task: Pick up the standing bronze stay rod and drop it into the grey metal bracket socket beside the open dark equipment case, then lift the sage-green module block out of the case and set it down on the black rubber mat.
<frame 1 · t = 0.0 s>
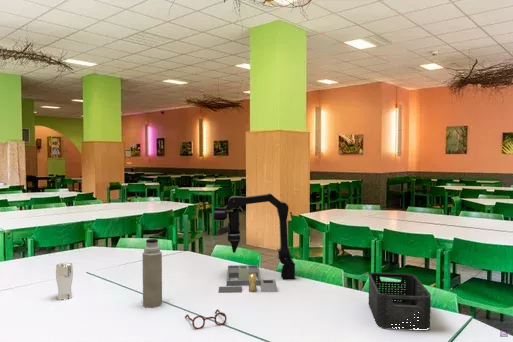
hand: (234, 250, 215), 15 cm above the table, fingers open, 9 cm apart
case: (243, 281, 211), on the table
thermos bottle: (152, 304, 178), on the table
module: (243, 273, 211), in the case
beer glass: (64, 298, 186), on the table
storage bin: (397, 316, 166), on the table
glasses: (205, 322, 160), on the table
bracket: (268, 289, 198), on the table
rod: (252, 291, 196), on the table
mat: (230, 289, 198), on the table
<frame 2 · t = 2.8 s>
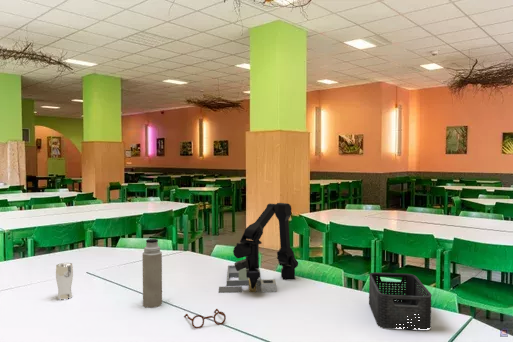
hand: (252, 287, 196), 2 cm above the table, fingers closed on rod, 4 cm apart
rod: (252, 291, 196), on the table, touching gripper
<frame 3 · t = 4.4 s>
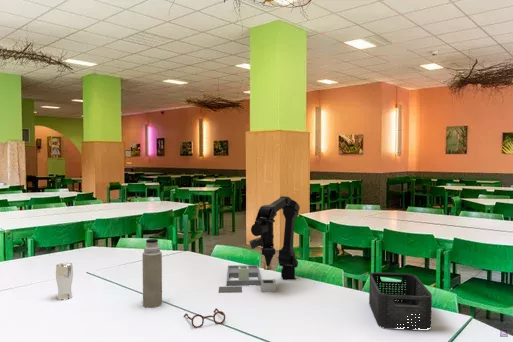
hand: (267, 265, 198), 12 cm above the table, fingers closed on rod, 4 cm apart
rod: (267, 268, 198), point 10 cm above the table, touching gripper
when the fingers open (4 cm above the table, at t = 6.1 s): rod drops 2 cm, resting on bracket.
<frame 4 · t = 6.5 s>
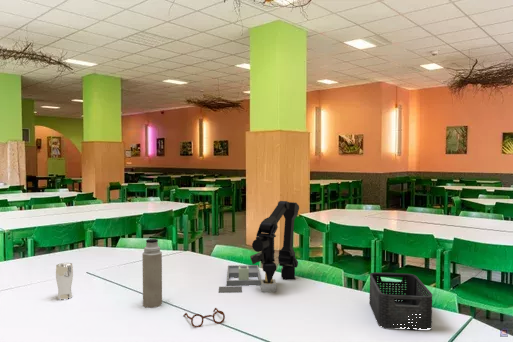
hand: (268, 280, 198), 4 cm above the table, fingers open, 8 cm apart
rod: (268, 288, 198), point 1 cm above the table, touching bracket
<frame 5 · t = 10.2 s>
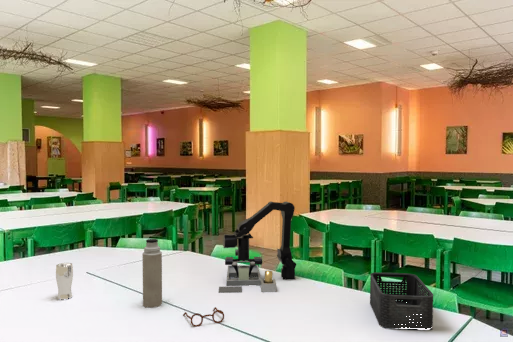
hand: (243, 277, 211), 2 cm above the table, fingers closed on module, 5 cm apart
module: (243, 273, 211), in the case, touching gripper
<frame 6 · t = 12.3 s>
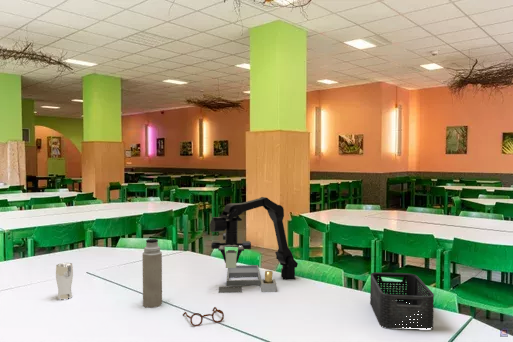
hand: (231, 262, 199), 13 cm above the table, fingers closed on module, 5 cm apart
module: (231, 258, 199), point 14 cm above the table, touching gripper
when the fingers open (3 cm above the table, at t = 14.5 s): module drops 1 cm, resting on mat.
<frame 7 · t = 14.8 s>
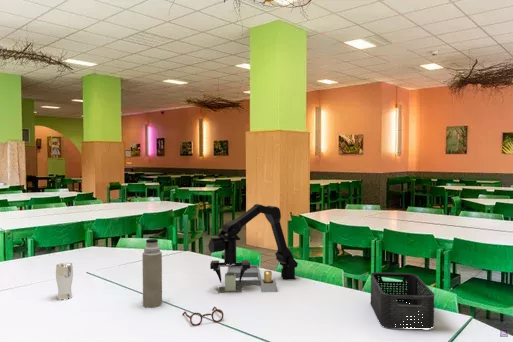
hand: (230, 282, 198), 3 cm above the table, fingers open, 9 cm apart
module: (230, 281, 198), resting on mat
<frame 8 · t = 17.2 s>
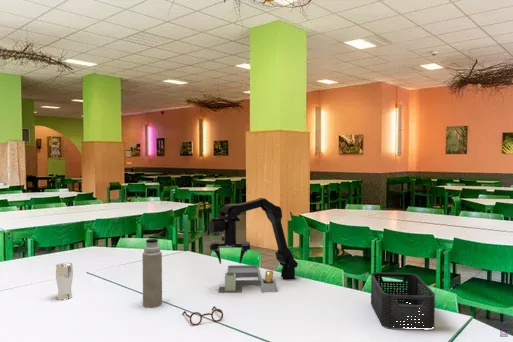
hand: (230, 263, 197), 12 cm above the table, fingers open, 9 cm apart
at the end: rod 0.2 cm off-centre on the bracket, point 0.6 cm above the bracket's base; module 0.1 cm from the mat (horizontally); module tilted 0° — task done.
